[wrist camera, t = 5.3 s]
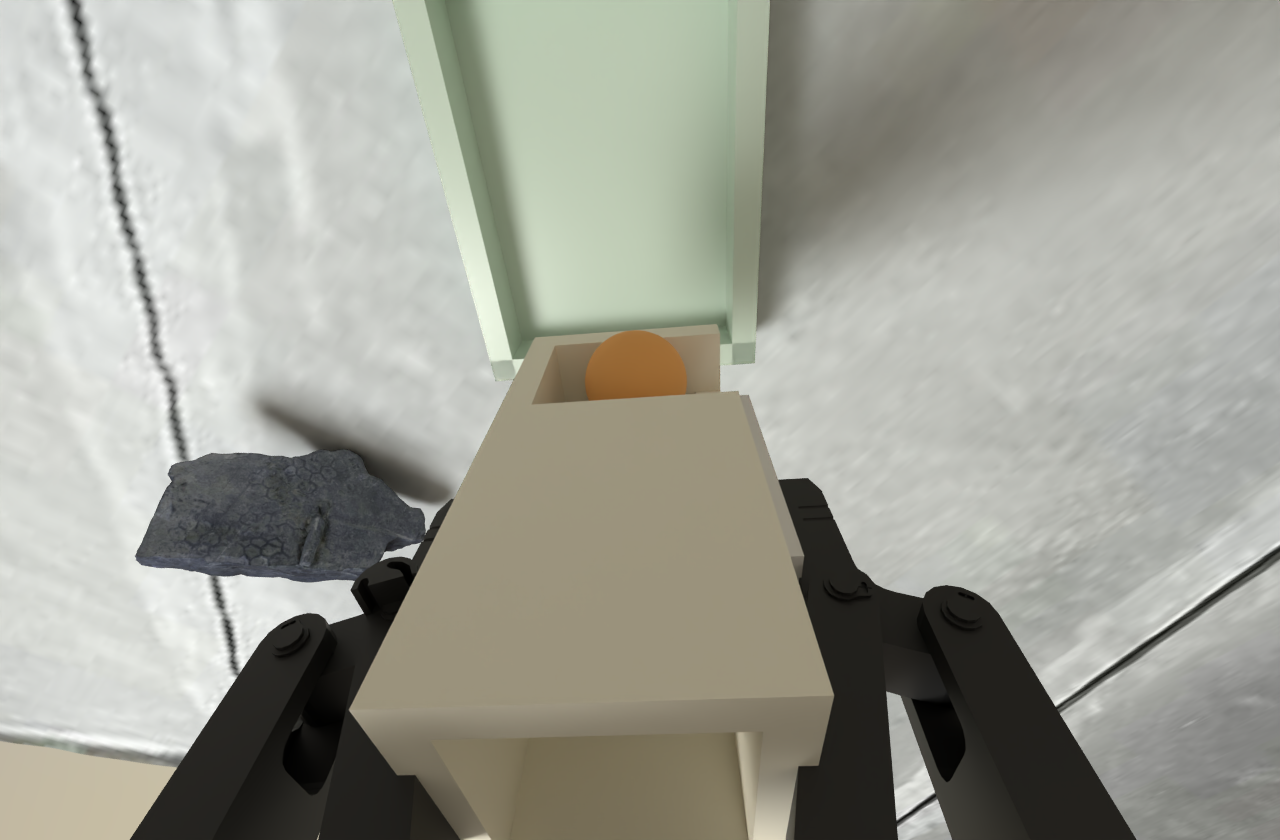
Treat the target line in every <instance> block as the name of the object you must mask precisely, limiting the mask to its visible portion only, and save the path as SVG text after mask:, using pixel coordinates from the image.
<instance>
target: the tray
mask: <svg viewBox="0 0 1280 840" xmlns="http://www.w3.org/2000/svg"><path fill="white" fill-rule="evenodd" d="M392 2H393V5H394V9H395V13H396V16H397V20H398V24H399V27H400V31H401V35H402V38H403V42H404V46H405V50H406V53H407V57H408V61H409V64H410V68H411V72H412V75H413V79H414V83H415V86H416V90H417V94H418V97H419V101H420V105H421V108H422V112H423V116H424V119H425V123H426V127H427V131H428V134H429V138H430V142H431V145H432V149H433V153H434V156H435V160H436V164H437V167H438V171H439V175H440V178H441V182H442V186H443V189H444V193H445V197H446V200H447V204H448V208H449V212H450V215H451V219H452V223H453V226H454V230H455V234H456V237H457V241H458V245H459V248H460V252H461V256H462V259H463V263H464V267H465V270H466V274H467V278H468V281H469V285H470V289H471V293H472V296H473V300H474V304H475V307H476V311H477V315H478V318H479V322H480V326H481V329H482V333H483V337H484V340H485V344H486V348H487V351H488V355H489V359H490V362H491V366H492V370H493V374H494V377H495V381H506V380H514V378H515V376H516V374H517V372H518V370H519V368H520V366H521V364H522V362H523V360H524V358H525V356H526V354H527V352H528V350H529V348H530V346H531V344H532V342H533V340H534V338H535V337H547V336H561V335H575V334H588V333H602V332H615V331H629V330H642V329H656V328H670V327H683V326H697V325H710V324H717V325H718V328H719V332H720V365H735V364H749V363H755V344H756V320H757V297H758V273H759V250H760V226H761V202H762V179H763V155H764V132H765V108H766V84H767V61H768V37H769V14H770V0H392Z"/></svg>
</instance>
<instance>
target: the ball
mask: <svg viewBox="0 0 1280 840" xmlns="http://www.w3.org/2000/svg"><path fill="white" fill-rule="evenodd" d="M585 388H586V394H587V397H588V400H589V401H594V400H609V399H625V398H640V397H655V396H670V395H685V393H686V388H687V375H686V370H685V366H684V363H683V361H682V359H681V357H680V355H679V353H678V352H677V351H676V349H675V348H674V347H673V346H672V345H671V344H670V343H669V342H668V341H667V340H665V339H664V338H662V337H660V336H659V335H656V334H654V333H651V332H647V331H641V330H631V331H625V332H621V333H618V334H616V335H613V336H612V337H610V338H608V339H607V340H605V341H604V342H603V343H602V344H601V345H600V346H599V347H598V348H597V349H596V350H595V352H594V353H593V355H592V356H591V358H590V361H589V363H588V366H587V369H586V375H585Z"/></svg>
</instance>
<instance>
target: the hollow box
mask: <svg viewBox="0 0 1280 840" xmlns="http://www.w3.org/2000/svg"><path fill="white" fill-rule="evenodd" d="M629 331H631V330H629ZM641 331H647V332H651V333H654V334H656V335H659V336H660V337H662V338H664V339H665V340H667V341H668V342H669V343H670V344H671V345H672V346H673V347H674V348H675V349H676V351H677V352H678V353H679V355H680V357H681V359H682V361H683V363H684V366H685V370H686V375H687V388H686V393H685V395H670V396H655V397H640V398H625V399H609V400H594V401H589V400H588V397H587V394H586V388H585V375H586V369H587V366H588V363H589V361H590V358H591V356H592V355H593V353H594V352H595V350H596V349H597V348H598V347H599V346H600V345H601V344H602V343H603V342H604V341H605V340H607V339H608V338H610V337H612V336H613V335H616V334H618V333H621V332H625V331H615V332H602V333H588V334H575V335H561V336H547V337H535V338H534V340H533V342H532V344H531V346H530V348H529V350H528V352H527V354H526V356H525V358H524V360H523V362H522V364H521V366H520V368H519V370H518V372H517V374H516V376H515V378H514V380H513V382H512V384H511V386H510V388H509V390H508V392H507V394H506V396H505V398H504V400H503V402H502V404H501V406H500V408H499V410H498V412H497V414H496V416H495V418H494V420H493V422H492V424H491V426H490V428H489V430H488V432H487V434H486V436H485V438H484V440H483V442H482V444H481V446H480V448H479V450H478V452H477V454H476V456H475V458H474V460H473V462H472V464H471V466H470V468H469V470H468V472H467V474H466V476H465V478H464V480H463V482H462V484H461V486H460V488H459V491H458V493H457V495H456V497H455V499H454V501H453V503H452V505H451V507H450V509H449V511H448V513H447V515H446V517H445V519H444V521H443V523H442V525H441V527H440V529H439V531H438V533H437V535H436V537H435V539H434V541H433V543H432V545H431V547H430V549H429V551H428V553H427V555H426V557H425V559H424V561H423V563H422V565H421V567H420V569H419V571H418V573H417V575H416V577H415V579H414V581H413V583H412V585H411V587H410V589H409V591H408V593H407V595H406V597H405V599H404V601H403V603H402V605H401V607H400V609H399V611H398V613H397V615H396V617H395V619H394V621H393V623H392V625H391V627H390V629H389V631H388V633H387V635H386V637H385V639H384V641H383V643H382V645H381V647H380V649H379V651H378V653H377V655H376V657H375V659H374V661H373V663H372V665H371V667H370V669H369V671H368V673H367V675H366V677H365V679H364V681H363V683H362V685H361V687H360V689H359V691H358V693H357V695H356V697H355V699H354V701H353V703H352V705H351V707H350V709H349V711H350V712H351V714H352V715H353V716H354V718H355V719H356V720H357V722H358V723H359V724H360V726H361V727H362V728H363V730H364V731H365V733H366V734H367V735H368V737H369V738H370V739H371V741H372V742H373V743H374V745H375V746H376V747H377V749H378V750H379V751H380V753H381V754H382V755H383V757H384V758H385V760H386V761H387V762H388V764H389V765H390V766H391V768H392V769H393V770H394V772H395V773H396V774H397V775H416V777H417V778H418V780H419V781H420V782H421V784H422V785H423V787H424V788H425V790H426V791H427V793H428V794H429V795H430V797H431V798H432V800H433V801H434V803H435V804H436V805H437V807H438V808H439V810H440V811H441V813H442V814H443V815H444V817H445V818H446V820H447V821H448V823H449V824H450V825H451V827H452V828H453V830H454V831H455V833H456V834H457V835H458V837H459V838H460V840H786V833H787V827H788V821H789V816H790V810H791V805H792V799H793V793H794V788H795V782H796V777H797V771H798V766H818V765H819V761H820V756H821V752H822V747H823V743H824V739H825V734H826V730H827V725H828V721H829V716H830V712H831V707H832V703H833V699H834V693H833V690H832V687H831V684H830V681H829V678H828V674H827V671H826V668H825V665H824V662H823V658H822V655H821V652H820V649H819V646H818V643H817V639H816V636H815V633H814V630H813V627H812V624H811V620H810V617H809V614H808V611H807V608H806V605H805V601H804V598H803V595H802V592H801V589H800V585H799V582H798V579H797V576H796V573H795V570H794V566H793V563H792V560H791V557H790V554H789V551H788V547H787V544H786V541H785V538H784V535H783V532H782V528H781V525H780V522H779V519H778V516H777V513H776V509H775V506H774V503H773V500H772V497H771V493H770V490H769V487H768V484H767V481H766V478H765V474H764V471H763V468H762V465H761V462H760V459H759V455H758V452H757V449H756V446H755V443H754V440H753V436H752V433H751V430H750V427H749V424H748V421H747V417H746V414H745V411H744V408H743V405H742V401H741V398H740V395H739V392H738V391H731V392H720V332H719V328H718V325H717V324H710V325H697V326H683V327H670V328H656V329H642V330H641Z"/></svg>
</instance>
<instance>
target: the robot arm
mask: <svg viewBox="0 0 1280 840" xmlns="http://www.w3.org/2000/svg"><path fill="white" fill-rule="evenodd" d="M740 398H741V401H742V405H743V408H744V411H745V414H746V417H747V421H748V424H749V427H750V430H751V433H752V436H753V440H754V443H755V446H756V449H757V452H758V455H759V459H760V462H761V465H762V468H763V471H764V474H765V478H766V481H767V484H768V487H769V490H770V493H771V497H772V500H773V503H774V506H775V509H776V513H777V516H778V519H779V522H780V525H781V528H782V532H783V535H784V538H785V541H786V544H787V547H788V551H789V554H790V557H791V560H792V563H793V566H794V570H795V573H796V576H797V579H798V582H799V585H800V589H801V592H802V595H803V598H804V601H805V605H806V608H807V611H808V614H809V617H810V620H811V624H812V627H813V630H814V633H815V636H816V639H817V643H818V646H819V649H820V652H821V655H822V658H823V662H824V665H825V668H826V671H827V674H828V678H829V681H830V684H831V687H832V690H833V693H834V699H833V703H832V707H831V712H830V716H829V721H828V725H827V730H826V734H825V739H824V743H823V747H822V752H821V756H820V761H819V765H818V766H798V771H797V777H796V782H795V788H794V793H793V799H792V805H791V810H790V816H789V821H788V827H787V833H786V840H898V834H897V822H896V809H895V797H894V784H893V772H892V759H891V747H890V734H889V722H888V709H887V697H886V691H887V692H891V693H894V694H898V695H901V698H902V701H903V704H904V706H905V709H906V712H907V715H908V717H909V720H910V723H911V726H912V729H913V731H914V734H915V737H916V740H917V743H918V745H919V748H920V751H921V754H922V756H923V759H924V762H925V765H926V768H927V770H928V773H929V776H930V779H931V782H932V784H933V787H934V790H935V793H936V795H937V798H938V801H939V804H940V807H941V809H942V812H943V815H944V818H945V821H946V823H947V826H948V829H949V832H950V834H951V837H952V840H1136V838H1135V836H1134V835H1133V833H1132V832H1131V830H1130V828H1129V827H1128V825H1127V823H1126V822H1125V820H1124V818H1123V817H1122V815H1121V813H1120V812H1119V810H1118V809H1117V807H1116V805H1115V804H1114V802H1113V800H1112V799H1111V797H1110V795H1109V794H1108V792H1107V791H1106V789H1105V787H1104V786H1103V784H1102V782H1101V781H1100V779H1099V777H1098V776H1097V774H1096V772H1095V771H1094V769H1093V768H1092V766H1091V764H1090V763H1089V761H1088V759H1087V758H1086V756H1085V754H1084V753H1083V751H1082V750H1081V748H1080V746H1079V745H1078V743H1077V741H1076V740H1075V738H1074V736H1073V735H1072V733H1071V731H1070V730H1069V728H1068V727H1067V725H1066V723H1065V722H1064V720H1063V718H1062V717H1061V715H1060V713H1059V712H1058V710H1057V709H1056V707H1055V705H1054V704H1053V702H1052V700H1051V699H1050V697H1049V695H1048V694H1047V692H1046V690H1045V689H1044V687H1043V686H1042V684H1041V682H1040V681H1039V679H1038V677H1037V676H1036V674H1035V672H1034V671H1033V669H1032V668H1031V666H1030V664H1029V663H1028V661H1027V659H1026V658H1025V656H1024V654H1023V653H1022V651H1021V649H1020V648H1019V646H1018V645H1017V643H1016V641H1015V640H1014V638H1013V636H1012V635H1011V633H1010V631H1009V630H1008V628H1007V627H1006V625H1005V623H1004V622H1003V620H1002V618H1001V617H1000V615H999V614H998V612H997V611H996V610H995V609H994V608H993V607H992V605H991V604H990V603H989V602H987V601H986V600H985V599H983V598H982V597H980V596H979V595H977V594H976V593H973V592H971V591H969V590H966V589H964V588H961V587H955V586H948V585H945V586H938V587H934V588H932V589H931V590H929V591H928V592H926V594H925V596H924V598H920V597H915V596H910V595H906V594H901V593H897V592H893V591H890V590H887V589H884V588H882V587H880V586H878V585H876V584H874V582H873V581H872V580H871V579H870V578H869V577H868V575H867V574H865V573H864V572H862V571H860V570H859V569H857V567H856V566H855V564H854V562H853V560H852V557H851V555H850V553H849V551H848V549H847V546H846V544H845V542H844V540H843V537H842V535H841V533H840V531H839V529H838V526H837V524H836V522H835V520H834V519H833V515H832V513H831V511H830V509H829V508H828V504H827V502H826V500H825V497H824V495H823V493H822V491H821V490H820V489H819V488H818V487H817V486H816V485H815V484H814V483H813V482H811V481H810V480H809V479H808V478H802V479H784V480H778V479H777V476H776V473H775V470H774V467H773V464H772V461H771V458H770V455H769V453H768V450H767V447H766V444H765V441H764V438H763V435H762V432H761V429H760V427H759V424H758V421H757V418H756V415H755V412H754V409H753V406H752V403H751V400H750V398H749V395H740ZM453 501H454V499H451V500H450V501H449V502H448V503H446V504H445V505H444V506H443V507H442V508H441V509H440V510H439V511H438V512H437V514H436V516H435V517H434V519H433V521H432V523H431V525H430V530H428V531H427V533H426V535H425V536H424V538H423V542H421V544H420V546H419V548H418V550H417V552H416V554H415V555H414V557H413V559H412V560H411V559H410V558H405V557H394V558H388V559H385V560H383V561H380V562H378V563H376V564H374V565H373V566H371V567H369V568H368V569H366V570H365V571H364V572H363V573H362V574H361V575H360V576H359V577H358V578H357V579H356V580H355V582H354V584H353V586H352V588H351V592H352V594H353V595H354V597H355V599H356V600H357V602H358V604H359V605H360V607H361V609H362V610H363V612H364V614H362V615H359V616H356V617H353V618H349V619H346V620H343V621H340V622H336V623H333V624H330V625H329V624H328V623H327V621H326V620H325V619H324V618H323V617H322V616H320V615H319V614H312V613H307V614H303V615H298V616H295V617H293V618H291V619H289V620H287V621H285V622H283V623H281V624H280V625H278V626H277V627H276V628H274V629H273V630H272V631H271V632H269V633H268V634H267V636H266V637H265V638H264V639H263V640H262V641H261V643H260V644H259V645H258V647H257V648H256V650H255V651H254V653H253V654H252V656H251V657H250V659H249V660H248V662H247V663H246V665H245V666H244V668H243V669H242V671H241V672H240V674H239V676H238V677H237V679H236V680H235V682H234V683H233V685H232V686H231V688H230V689H229V691H228V692H227V694H226V695H225V697H224V698H223V700H222V701H221V703H220V704H219V706H218V707H217V709H216V710H215V712H214V713H213V715H212V716H211V718H210V719H209V721H208V722H207V724H206V725H205V727H204V728H203V730H202V731H201V733H200V734H199V736H198V737H197V739H196V740H195V742H194V743H193V745H192V746H191V748H190V749H189V751H188V753H187V754H186V756H185V757H184V759H183V760H182V762H181V763H180V765H179V766H178V768H177V769H176V771H175V772H174V774H173V775H172V777H171V778H170V780H169V781H168V783H167V785H166V786H165V787H164V789H163V790H162V792H161V793H160V795H159V796H158V798H157V799H156V801H155V802H154V804H153V805H152V807H151V809H150V810H149V811H148V813H147V814H146V816H145V817H144V819H143V821H142V822H141V824H140V825H139V826H138V828H137V830H136V831H135V833H134V834H133V836H132V837H131V839H130V840H317V837H318V835H319V839H318V840H460V838H459V837H458V835H457V834H456V833H455V831H454V830H453V828H452V827H451V825H450V824H449V823H448V821H447V820H446V818H445V817H444V815H443V814H442V813H441V811H440V810H439V808H438V807H437V805H436V804H435V803H434V801H433V800H432V798H431V797H430V795H429V794H428V793H427V791H426V790H425V788H424V787H423V785H422V784H421V782H420V781H419V780H418V778H417V777H416V775H397V774H396V773H395V772H394V770H393V769H392V768H391V766H390V765H389V764H388V762H387V761H386V760H385V758H384V757H383V755H382V754H381V753H380V751H379V750H378V749H377V747H376V746H375V745H374V743H373V742H372V741H371V739H370V738H369V737H368V735H367V734H366V733H365V731H364V730H363V728H362V727H361V726H360V724H359V723H358V722H357V720H356V719H355V718H354V716H353V715H352V714H351V712H350V711H349V709H350V707H351V705H352V703H353V701H354V699H355V697H356V695H357V693H358V691H359V689H360V687H361V685H362V683H363V681H364V679H365V677H366V675H367V673H368V671H369V669H370V667H371V665H372V663H373V661H374V659H375V657H376V655H377V653H378V651H379V649H380V647H381V645H382V643H383V641H384V639H385V637H386V635H387V633H388V631H389V629H390V627H391V625H392V623H393V621H394V619H395V617H396V615H397V613H398V611H399V609H400V607H401V605H402V603H403V601H404V599H405V597H406V595H407V593H408V591H409V589H410V587H411V585H412V583H413V581H414V579H415V577H416V575H417V573H418V571H419V569H420V567H421V565H422V563H423V561H424V559H425V557H426V555H427V553H428V551H429V549H430V547H431V545H432V543H433V541H434V539H435V537H436V535H437V533H438V531H439V529H440V527H441V525H442V523H443V521H444V519H445V517H446V515H447V513H448V511H449V509H450V507H451V505H452V503H453ZM319 833H320V834H319Z"/></svg>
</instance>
